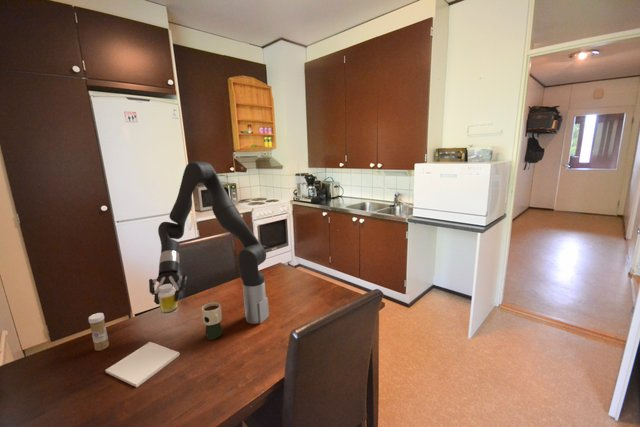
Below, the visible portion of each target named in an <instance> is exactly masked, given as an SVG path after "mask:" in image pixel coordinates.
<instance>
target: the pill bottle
mask: <svg viewBox="0 0 640 427" xmlns="http://www.w3.org/2000/svg"><path fill="white" fill-rule="evenodd" d="M173 288H174V286H173V287H172V284H165V285H162V286H160V287H159V291H160V292H159V294H158V299H159V304H158V305H159V309H160V314H161V315H163V316H169V315H172V314H174V313H176V312H177V311H178V310H179V307H178V301H177V302H175V291H176V290H175V288H174V289H173Z"/></svg>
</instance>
